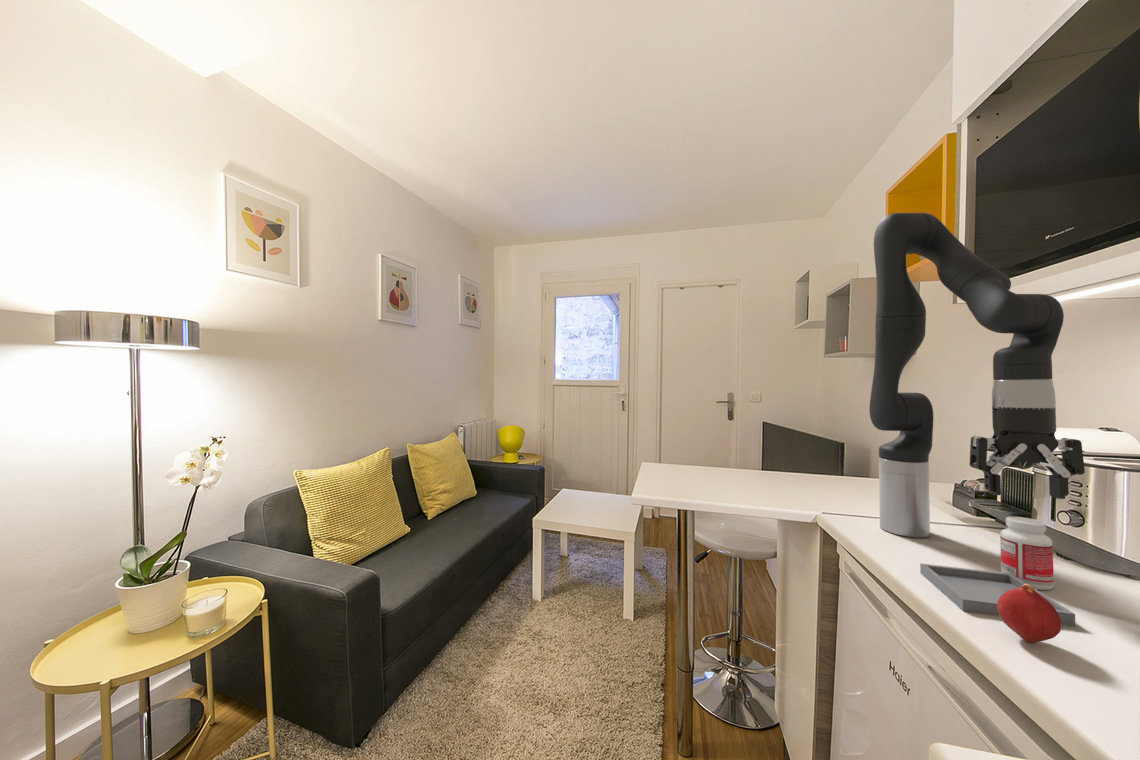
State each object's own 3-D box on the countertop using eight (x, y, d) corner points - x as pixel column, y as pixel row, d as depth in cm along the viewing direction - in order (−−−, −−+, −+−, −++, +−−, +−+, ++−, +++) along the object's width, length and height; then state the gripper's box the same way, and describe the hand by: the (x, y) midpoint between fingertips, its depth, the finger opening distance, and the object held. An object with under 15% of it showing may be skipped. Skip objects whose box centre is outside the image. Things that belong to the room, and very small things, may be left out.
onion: (994, 623, 59) (993, 569, 59) (1054, 639, 55) (1053, 581, 55) (1002, 643, 54) (1001, 585, 55) (1068, 662, 51) (1067, 599, 51)
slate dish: (920, 573, 75) (920, 563, 75) (1010, 583, 70) (1010, 573, 70) (962, 610, 62) (962, 599, 62) (1075, 626, 58) (1075, 614, 58)
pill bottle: (1059, 586, 69) (1058, 522, 70) (1046, 594, 67) (1045, 528, 67) (1008, 571, 75) (1007, 512, 75) (994, 578, 72) (993, 517, 72)
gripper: (1058, 404, 72) (1061, 493, 72) (959, 404, 77) (961, 488, 77) (1096, 406, 65) (1099, 505, 65) (985, 405, 70) (987, 498, 70)
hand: (1025, 496), depth 71 cm, fingers open, 8 cm apart
